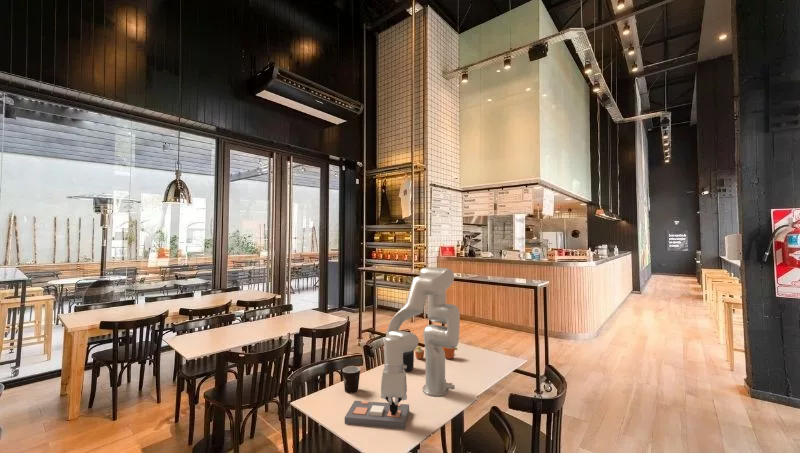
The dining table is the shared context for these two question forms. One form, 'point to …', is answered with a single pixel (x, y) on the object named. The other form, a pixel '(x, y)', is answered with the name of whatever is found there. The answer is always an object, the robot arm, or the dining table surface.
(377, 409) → the key middle
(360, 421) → the keypad housing
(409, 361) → the pen holder
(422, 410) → the dining table surface
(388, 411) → the key
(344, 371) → the coffee mug
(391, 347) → the robot arm
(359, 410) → the key
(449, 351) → the potted plants
